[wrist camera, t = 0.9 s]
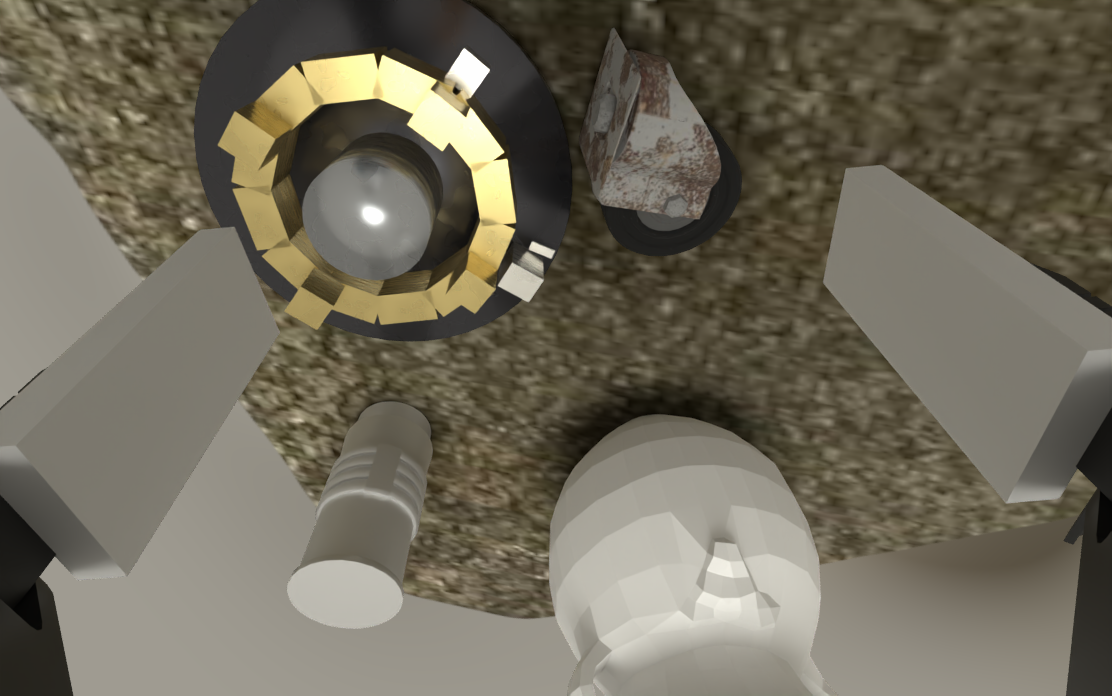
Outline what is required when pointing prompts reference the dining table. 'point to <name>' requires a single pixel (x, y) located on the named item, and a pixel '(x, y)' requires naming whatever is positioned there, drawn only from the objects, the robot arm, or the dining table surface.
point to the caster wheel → (654, 156)
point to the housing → (391, 151)
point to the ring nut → (439, 116)
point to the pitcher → (684, 567)
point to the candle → (366, 521)
